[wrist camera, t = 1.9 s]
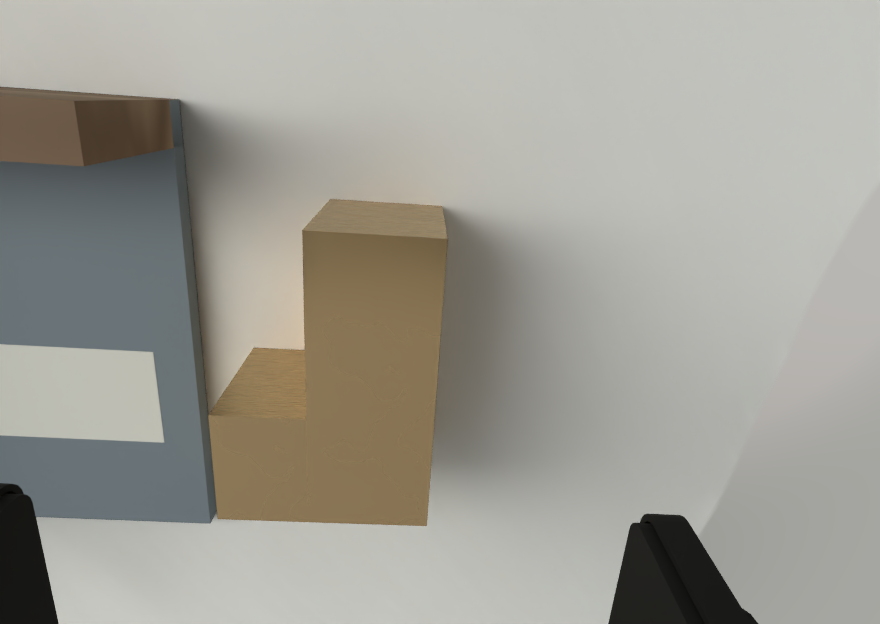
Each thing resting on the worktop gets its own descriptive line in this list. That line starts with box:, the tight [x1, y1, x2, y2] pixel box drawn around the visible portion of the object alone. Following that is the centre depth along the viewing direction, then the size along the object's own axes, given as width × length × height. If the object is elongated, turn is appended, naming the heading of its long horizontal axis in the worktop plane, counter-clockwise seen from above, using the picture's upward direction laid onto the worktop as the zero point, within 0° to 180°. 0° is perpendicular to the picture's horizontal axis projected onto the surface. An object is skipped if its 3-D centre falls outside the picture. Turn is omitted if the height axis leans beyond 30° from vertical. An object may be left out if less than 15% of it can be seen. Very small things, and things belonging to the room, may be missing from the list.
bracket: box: [208, 199, 448, 526], centre depth 20 cm, size 10×7×5 cm
